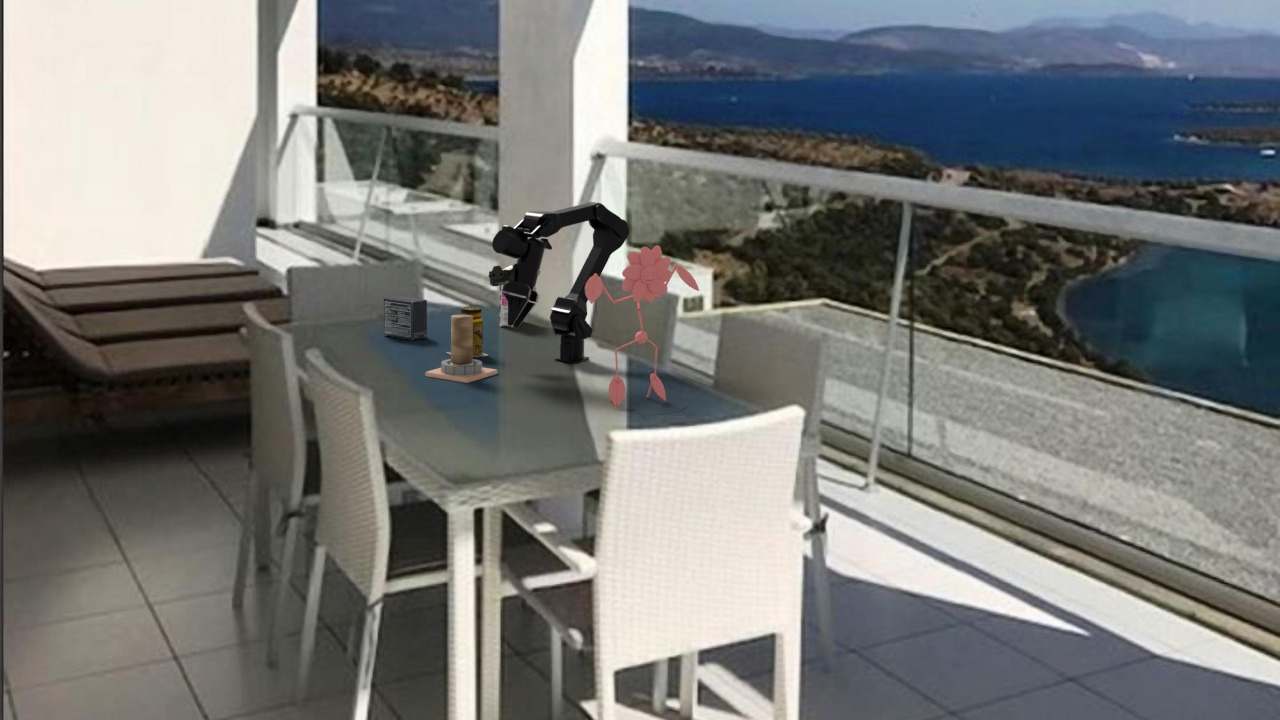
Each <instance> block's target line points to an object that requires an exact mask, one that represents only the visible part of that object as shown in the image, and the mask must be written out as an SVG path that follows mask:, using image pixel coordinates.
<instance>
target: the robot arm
mask: <svg viewBox="0 0 1280 720" xmlns="http://www.w3.org/2000/svg"><path fill="white" fill-rule="evenodd" d="M585 222H588V224H589V226H590V227H591V228H592V229H593V230H594V231H593V233H592V243H593V245H592V248H591V250H590V252H588V253H589V254H588V256H587V257H586V259H585V262H584V263H583V265H582V268H581V269H580V272H579V273H578V275H577V278H576V279H575V281H574V283H573V285H572V288H571V289H570V291H569V292H568V294H567V295H566V296H564V297H563V296H557V298H555V299H556V300H555V301H554V304H553V306H552V307H551V309H550V311H551V313H550V316H549V320H550V324H551V326H552V330H553V334H554V335H556V336H557V335H558V336H560V343H559V344H560V345H559V346H560V347H559V356H558V357H555V358H554V360H555V361H559V362H567V363H572V364H578V363H581V362H585V361H587V360H590V357H589V356H585V340H587V339H588V338H591V337H592V333H593V328H592V327H591V325H590V324H589V323H588V322H587V321H586V319H587V316H588V301H589V300H588V298H587V297H586V295H585V285H586V282H587V281H588V279H589V278H590V277H592V276H594V274H597V275H598V276H599V277H600V278H601V275H602V273H603V272H604V269H605V267H606V265H607V263H608V261H609V259H610V257H611V255H613V254H614V253H615V252H616V251H617V250H619V249H620V248H622V246H623V245H624V244H625V242H626V240H627V239H628V237H629V235H630V228H629V224H628V222H627V221H626V220H625V219H622V218H621V217H620V216H619V215H618V214H615V213H614V212H613V211H611V210H610V209H609V208H607V207H606V206H605V205H604V204H603V203H601V202H595V201H594V202H593V201H587V202H584V203H583V204H578V205H574V206H570V207H567V208H566V207H565V208H562V209H558V210H554V211H547V210H546V211H544V210H535V211H534V210H530V211H527V212H526V213H525V214H524V217H523V218H522V220H520V221H519V223H518V224H517V225H515V226H514V227H513V226H510V225H506V224H505V225H502V226H501V227H502V228H501V229H500V230H499V231H497V233H496V234H495V235H494V236H493V238H492V249H493V251H494V252H495V253H497V254H500V255H503V256H506V257H509V258H512V259H516V263H514V264H512V266H513V268H512V269H511V270H503V269H504V268H502V266H501V265H494V266H493V267H492V270H489V272H488V278H489V285H490V286H491V287H499V286H500V285H503V289H502V291H504V292H509V294H506V293H503V295H504V296H505V297H506V299H507V301H508V325H510V326H512V325H513V324H514V326H513V327H514V328H513V329H519V327H520V326H521V325H522V323H523V322H524V321H523V320H525V319H526V318H527V317H528V315H529V313H531V311H532V310H533V308H534V307H535V306H536V305H537V303H538V302H539V299H540V298H539V297H540V294H539V293H538V291H537V287H536V285H537V282H538V281H537V280H538V277H539V276H540V274H541V265H542V261H543V258H544V253H545V251H546V250H550V251H552V249H553V247H552V245H551V243H550V242H549V239H548V238H549V237H551V236H553V235H555V234H557V233H558V232H559V231H560V230H561V229H562V228H565V227H569V226H570V227H571V226H573V225H578V224H581V223H585Z"/></svg>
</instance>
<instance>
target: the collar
mask: <svg viewBox="0 0 1280 720" xmlns="http://www.w3.org/2000/svg"><path fill="white" fill-rule="evenodd" d="M424 374H425V377H429V378H435V379H440V380H446V381H447V380H448V381H451V382H452V381H453V382H460V383H466V384H468V383H471V382H475V381H477V380H481V379H485V378H487V377H491V376H495V375H498V369H495V368H488V367H483V361H482V360H479V359H474V358H473V365H467V366H456V365H451V358H449V359H448V358H447V359H444V360H442V361H441V363H440V367H437V368H435V369H431V370H428V371H425V373H424Z"/></svg>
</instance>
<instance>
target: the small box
mask: <svg viewBox="0 0 1280 720" xmlns="http://www.w3.org/2000/svg"><path fill="white" fill-rule="evenodd" d="M384 335H388V336H393V337H398V338H397V339H400V338H403V339H402V340H406V339H408V341H416V340H415V339H417V340H420V338H422V339H425V338H424V337H426V338H428V300H427V299H424V298H422V299H421V298H415V297H414V298H413V297H408V296H401V295H399V296H398V295H397V296H389V297H384V298H383V336H384ZM393 337H392V338H393Z"/></svg>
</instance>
